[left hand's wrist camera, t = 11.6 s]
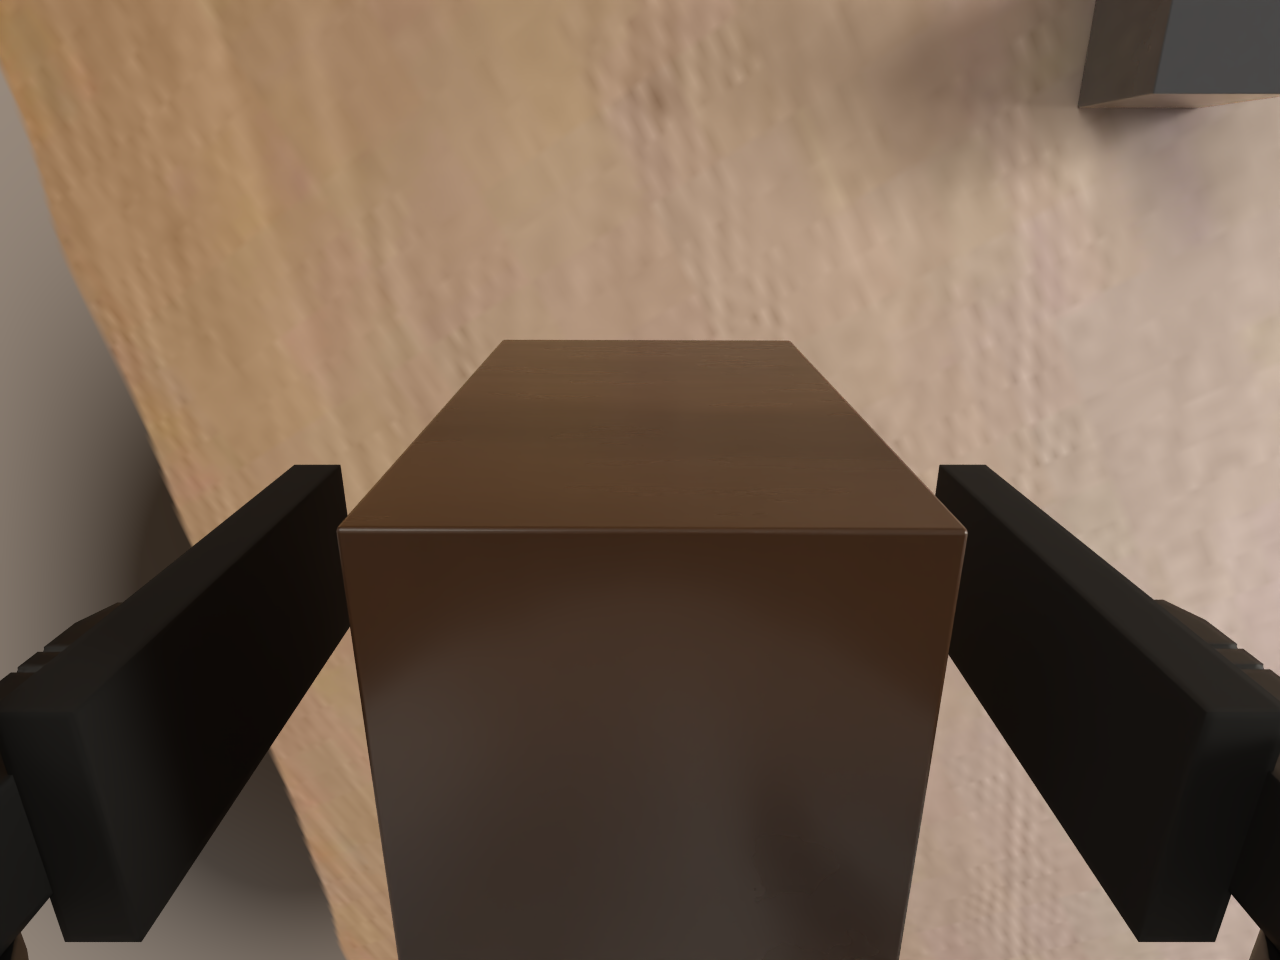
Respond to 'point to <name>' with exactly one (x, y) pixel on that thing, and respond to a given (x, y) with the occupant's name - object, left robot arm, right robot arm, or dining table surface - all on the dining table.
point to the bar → (650, 660)
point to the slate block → (1181, 53)
